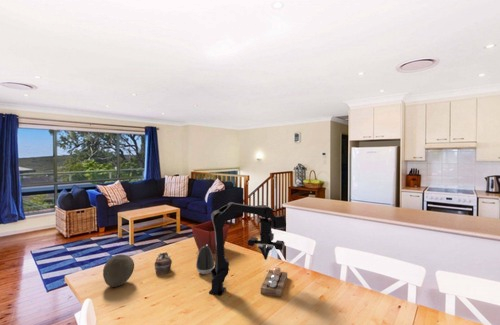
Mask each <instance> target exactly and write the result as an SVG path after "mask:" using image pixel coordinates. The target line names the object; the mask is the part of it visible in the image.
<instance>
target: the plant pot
mask: <svg viewBox="0 0 500 325" xmlns="http://www.w3.org/2000/svg"><path fill="white" fill-rule="evenodd" d="M229 227H230V225H229V224H225V223H224V228H223V239H224V245H225V244H226V241H227V237H228V234H229ZM191 232H192V235H193V239H194V242H195V245H196V247H197V249H198V251H200V249H201V247H203V246H206V245H207V244H208V247H209V248H210V250H211V252H212V254H214V253H216V243H215V229H214V226H213V222H212V220H210V221H206V222H203V223H200V224H197V225H194V226H193V225H192V226H191Z"/></svg>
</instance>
